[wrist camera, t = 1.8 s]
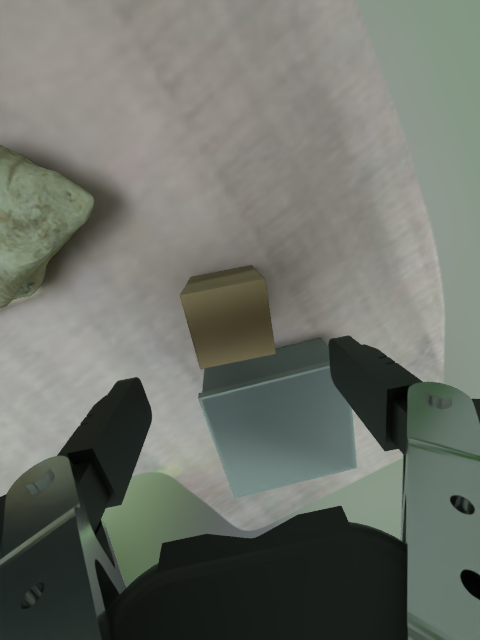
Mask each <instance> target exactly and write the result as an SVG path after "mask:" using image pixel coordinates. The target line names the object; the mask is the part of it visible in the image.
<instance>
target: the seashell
mask: <svg viewBox="0 0 480 640" xmlns="http://www.w3.org/2000/svg"><path fill="white" fill-rule="evenodd" d="M93 205H94V198H93V196H92V195H91V194H90V193H89V192H87V191H86V190H84V189H83V188H81V187H80V186H78V185H76V184H75V183H73V182H72V181H70V180H69V179H67V178H65V177H64V176H63V175H62V174H60V173H59V172H56V171H51V170H48V169H45V168H42V167H39V166H37V165H35V164H33V163H32V162H31V161H30V160H28V159H26V158H25V157H23V156H21V155H19V154H17V153H15V152H13V151H11V150H10V149H8V148H6V147H4V146H2V145H0V308H2V307H4V306H7V305H8V304H9V303H10V302H11V301H12V300H14V299H17V298H22V297H27V296H30V295H32V294H33V293H35V292H36V290H37V289H38V288H39V287H40V286H41V283H42V281H43V279H44V276H45V272H46V265H47V263H48V262H49V260H50V259H51V257H52V256H53V255H55V254H56V253H57V252H58V251H59V250H60V249H61V248H62V247H63V245H64V244H65V243H66V242H67V241H68V240H69V239H70V238H71V237H72V236H73V234H74V233H75V232H76V230H77V229H78V228H79V227H80V226H82V225H83V224H84V223H86V222H87V221H88V219H89V217H90V214H91V212H92V210H93Z"/></svg>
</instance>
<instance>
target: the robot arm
mask: <svg viewBox="0 0 480 640" xmlns="http://www.w3.org/2000/svg"><path fill="white" fill-rule="evenodd" d="M329 359H330V373H331V378H332V381H333V383H334V385H335V387H336V388H337V389H338V391H339V392H340V393H341V395H342V396H343V397H344V398H345V400H346V401H347V402H348V404H349V405H350V406H351V408H352V409H353V410H354V412H355V413H356V414H357V415H358V417H359V418H360V419H361V421H362V422H363V423H364V425H365V426H366V427H367V429H368V430H369V431H370V432H371V434H372V435H373V436H374V438H375V439H376V440H377V442H378V443H379V444H380V446H381V447H382V448H383V449H384V451H389V450H394V449H400V451H401V452H402V453H403V478H402V514H401V537H400V540H399V539H397V538H396V537H394V536H392V535H390V534H388V533H385V532H383V531H381V530H378V529H376V528H373V527H370V526H367V525H362V524H358V523H351V522H348V520H347V517H346V515H345V513H344V511H343V508H342V506H337V507H333V508H328V509H323V510H318V511H313V512H309V513H304V514H299V515H296V516H295V517H293V518H291V519H289V520H288V521H286V522H284V523H282V524H280V525H278V526H277V527H275V528H273V529H271V530H269V531H268V532H266V533H264V534H262V535H260V536H258V537H256V538H252V539H251V538H240V537H231V536H220V535H211V534H204V535H200V536H194V537H190V538H185V539H180V540H176V541H171V542H166V543H162V547H161V552H160V558H159V563H158V564H156V565H154V566H153V567H151V568H150V569H148V570H147V571H145V572H144V573H142V574H141V575H140V576H139V577H138V578H136V579H135V580H134V581H133V582H132V583H131V584H130V585H129V586H128V587H126V585H125V583H124V580H123V578H122V575H121V572H120V569H119V565H118V563H117V559H116V556H115V553H114V550H113V547H112V544H111V541H110V538H109V535H108V531H107V528H106V526H105V523H104V521H103V519H102V515H103V513H104V511H105V508H108V507H113V506H118V505H121V504H122V502H123V499H124V496H125V493H126V491H127V488H128V485H129V482H130V480H131V477H132V474H133V471H134V469H135V466H136V463H137V460H138V458H139V455H140V452H141V449H142V447H143V444H144V441H145V438H146V436H147V433H148V430H149V427H150V425H151V421H152V411H151V407H150V404H149V402H148V399H147V396H146V394H145V391H144V388H143V386H142V383H141V381H140V379H139V378H138V377H135V378H130V379H125V380H120V381H117V382H116V383H115V385H114V386H113V388H112V389H111V391H110V392H109V393H108V395H106V396H105V397H103V398H102V399H101V400H100V401H99V402H97V403H96V404H95V405H94V406H93V407H92V409H91V410H90V412H89V413H88V414H87V417H85V418H84V420H83V421H82V422H81V425H80V426H79V427H78V428H77V429H76V431H75V432H74V433H73V435H72V436H71V437H70V439H69V440H68V441H67V443H66V444H65V446H64V447H63V448H62V450H61V451H60V452H59V454H58V455H57V456H55V457H51V458H48V459H46V460H44V461H42V462H40V463H38V464H36V465H35V466H33V467H32V468H30V469H29V470H28V471H26V472H25V473H24V474H23V475H22V476H20V477H19V478H18V479H17V480H16V481H15V483H14V484H13V485H12V486H11V488H10V489H9V491H8V493H7V494H6V495H4V496H2V497H0V640H480V399H471V398H470V397H469V396H468V395H466V394H465V393H464V392H462V391H461V390H459V389H457V388H454V387H452V386H449V385H446V384H442V383H436V382H422V381H421V380H420V379H418V378H417V377H415V376H414V375H413V374H411V373H410V372H409V371H407V370H406V369H404V368H403V367H402V366H400V365H399V364H397V363H395V361H393V360H392V359H391V358H389V357H387V356H386V355H385V354H384V353H382V352H381V351H379V350H378V349H376V348H373V347H370V346H368V345H365V344H364V345H361V344H359V343H358V342H357V341H356V340H354V339H353V338H352V337H350V336H343V337H338V338H333V339H330V340H329Z"/></svg>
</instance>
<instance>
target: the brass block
mask: <svg viewBox="0 0 480 640" xmlns="http://www.w3.org/2000/svg"><path fill="white" fill-rule="evenodd" d="M180 298H181V301H182V305H183V308H184V312H185V316H186V319H187V323H188V327H189V330H190V334H191V337H192V341H193V345H194V348H195V352H196V355H197V359H198V363H199V366H200V369H203V368H208V367H213V366H218V365H223V364H228V363H233V362H238V361H243V360H248V359H253V358H258V357H263V356H267V355H272V354H276V351H275V344H274V338H273V331H272V324H271V317H270V310H269V303H268V296H267V289H266V282H265V278H264V277H263V276H262V275H261V274H260V273H259V272H258V271H257V270H256V269H255V268H254V267H253V266H252V265H250V266H245V267H240V268H234V269H229V270H224V271H219V272H214V273H209V274H204V275H199V276H194V277H190V279H189V281H188V283H187V284H186V286H185V288H184V289H183V291H182V293H181V294H180Z"/></svg>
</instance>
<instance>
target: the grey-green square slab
mask: <svg viewBox="0 0 480 640" xmlns="http://www.w3.org/2000/svg"><path fill="white" fill-rule="evenodd" d="M275 351H276V354H272V355H267V356H263V357H258V358H253V359H248V360H243V361H238V362H233V363H228V364H223V365H218V366H213V367H208V368H205V371H204V381H203V391H202V393H199V396H198V399H199V402H200V405H201V407H202V410H203V413H204V416H205V418H206V421H207V424H208V427H209V429H210V432H211V435H212V438H213V440H214V443H215V446H216V449H217V451H218V454H219V457H220V460H221V463H222V465H223V468H224V471H225V474H226V476H227V479H228V482H229V485H230V487H231V490H232V493H233V496H234V498H238V497H242V496H246V495H250V494H254V493H258V492H262V491H266V490H270V489H274V488H278V487H282V486H286V485H290V484H294V483H298V482H302V481H307V480H311V479H315V478H319V477H323V476H327V475H331V474H335V473H339V472H343V471H347V470H351V469H355V468H357V464H356V452H355V439H354V427H353V415H352V408H351V406H350V405H349V404H348V402H347V401H346V400H345V398H344V397H343V396H342V395H341V393H340V392H339V391H338V389H337V388H336V387H335V385H334V383H333V381H332V378H331V373H330V359H329V346H328V345H327V344H326V343H325V342H324V341H323V340H322V339H321V338H317V339H313V340H309V341H305V342H301V343H297V344H293V345H289V346H285V347H281V348H277V349H275Z"/></svg>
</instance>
